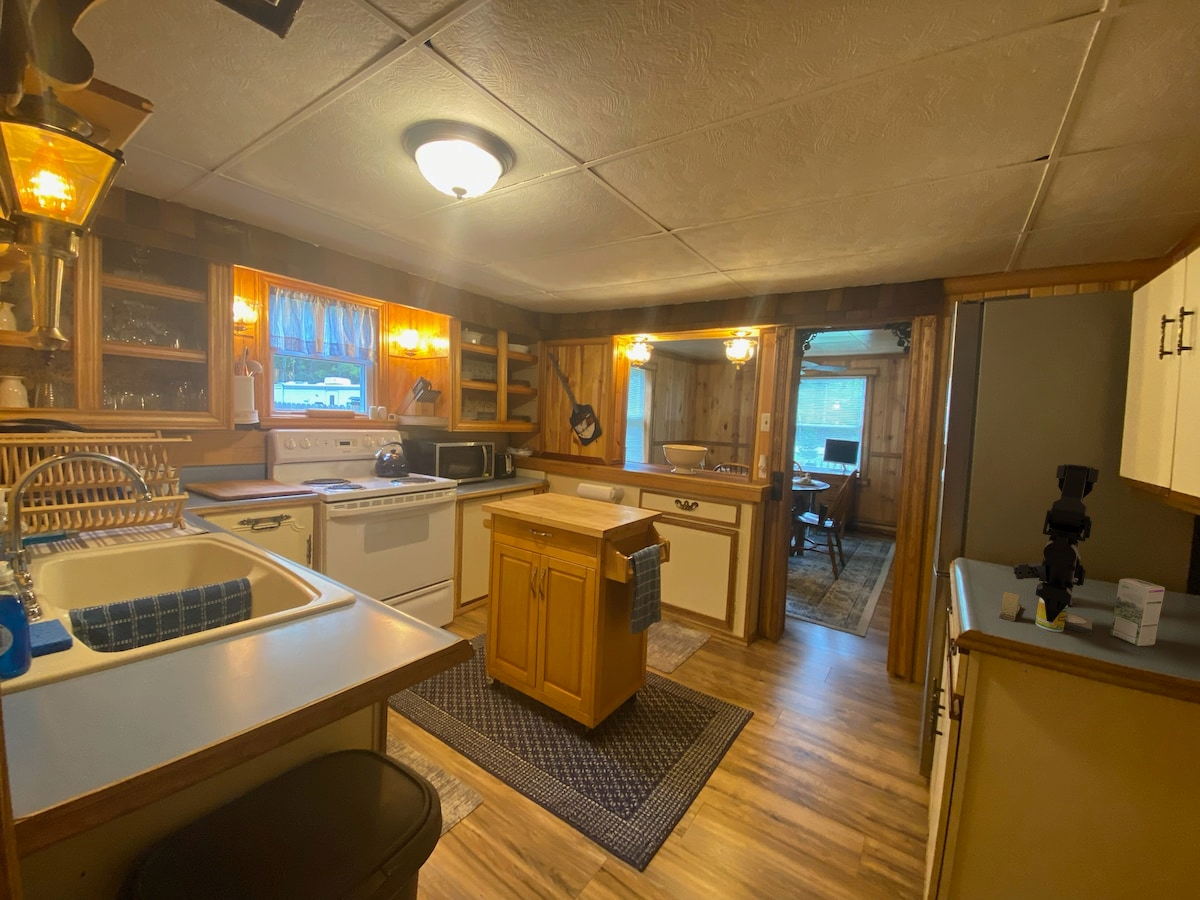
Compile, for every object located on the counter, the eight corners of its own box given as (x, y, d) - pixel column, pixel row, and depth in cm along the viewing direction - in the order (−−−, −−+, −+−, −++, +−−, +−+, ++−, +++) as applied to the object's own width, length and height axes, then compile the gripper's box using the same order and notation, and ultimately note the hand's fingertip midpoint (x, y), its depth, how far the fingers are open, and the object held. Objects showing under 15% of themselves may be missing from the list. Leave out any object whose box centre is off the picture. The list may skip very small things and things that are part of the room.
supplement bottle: (1039, 621, 131) (1045, 585, 129) (1066, 630, 126) (1072, 593, 125) (1031, 625, 128) (1037, 589, 126) (1059, 634, 123) (1065, 597, 122)
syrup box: (1155, 645, 120) (1167, 586, 119) (1137, 646, 119) (1148, 587, 117) (1126, 633, 126) (1136, 577, 124) (1108, 634, 125) (1118, 578, 123)
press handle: (1002, 609, 134) (1004, 591, 133) (1016, 613, 132) (1019, 595, 131) (1000, 612, 132) (1003, 594, 131) (1015, 616, 129) (1018, 598, 129)
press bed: (1045, 612, 137) (1046, 606, 136) (1091, 624, 130) (1092, 618, 130) (1042, 621, 130) (1043, 615, 130) (1090, 634, 124) (1091, 628, 124)
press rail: (1007, 603, 141) (1007, 600, 141) (1020, 607, 139) (1021, 604, 139) (999, 617, 131) (1000, 614, 131) (1014, 621, 129) (1014, 618, 129)
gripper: (1022, 543, 137) (1014, 598, 139) (1013, 556, 124) (1004, 617, 126) (1079, 554, 129) (1069, 612, 131) (1075, 569, 116) (1064, 634, 118)
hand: (1050, 618), depth 127 cm, fingers closed on supplement bottle, 5 cm apart
